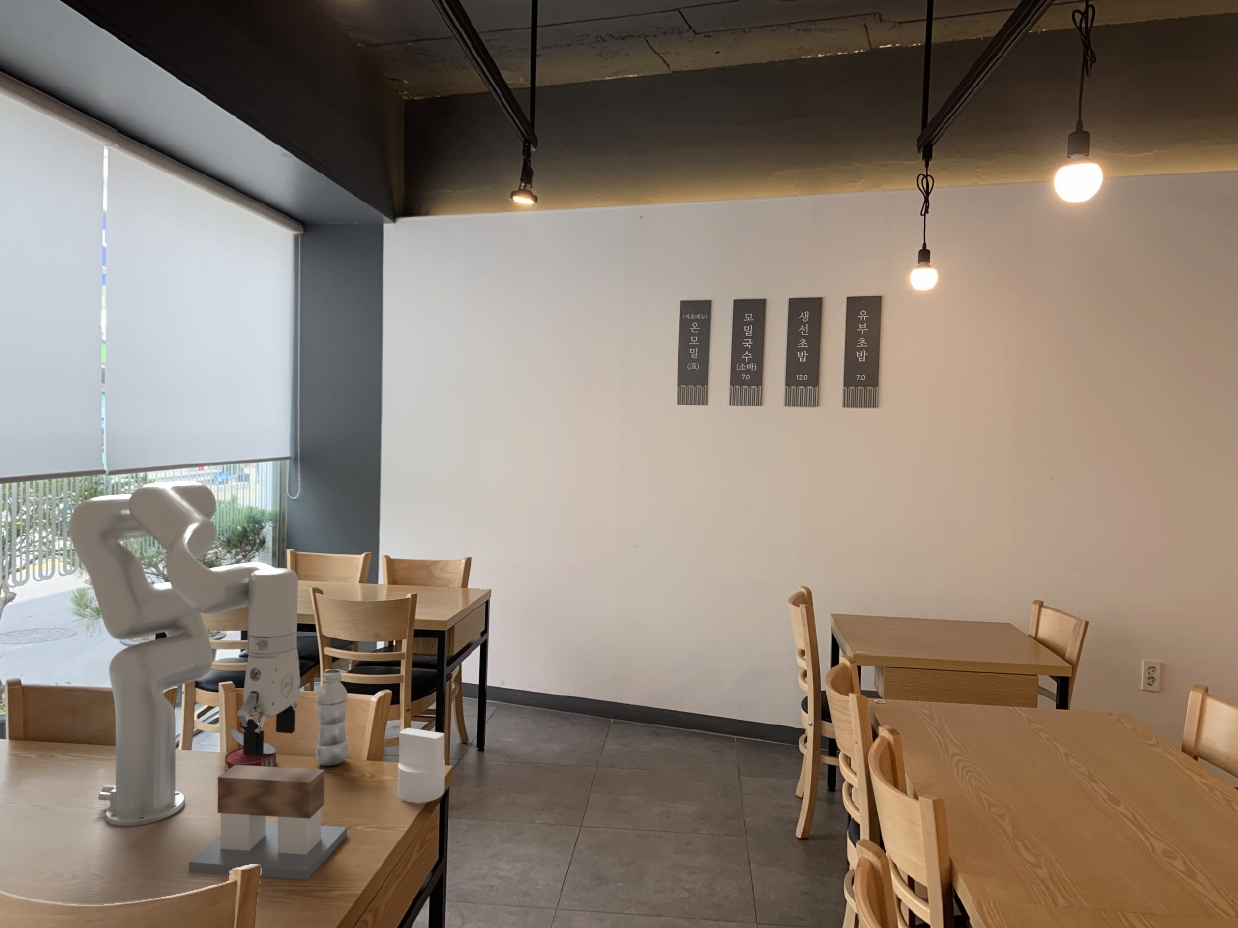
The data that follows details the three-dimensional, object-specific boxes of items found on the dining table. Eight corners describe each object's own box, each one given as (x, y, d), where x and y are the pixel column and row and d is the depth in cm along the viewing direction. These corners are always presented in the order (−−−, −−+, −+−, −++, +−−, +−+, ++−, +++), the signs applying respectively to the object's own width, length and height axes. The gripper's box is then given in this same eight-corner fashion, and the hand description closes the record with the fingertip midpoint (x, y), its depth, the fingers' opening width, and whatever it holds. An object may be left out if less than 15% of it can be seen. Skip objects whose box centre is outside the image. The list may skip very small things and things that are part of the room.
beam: (217, 812, 128) (217, 777, 127) (235, 799, 133) (235, 764, 132) (309, 818, 126) (310, 782, 126) (324, 804, 131) (324, 769, 131)
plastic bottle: (352, 757, 169) (353, 667, 169) (338, 770, 162) (339, 676, 162) (324, 756, 170) (325, 666, 169) (309, 768, 163) (310, 675, 163)
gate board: (188, 871, 124) (188, 825, 123) (239, 828, 137) (239, 786, 137) (307, 879, 122) (307, 833, 121) (346, 835, 136) (347, 793, 135)
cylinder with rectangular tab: (452, 786, 156) (453, 728, 155) (428, 806, 147) (428, 744, 147) (414, 779, 159) (415, 722, 158) (388, 798, 150) (388, 737, 150)
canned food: (240, 781, 167) (249, 733, 172) (282, 780, 166) (291, 731, 170) (206, 777, 157) (217, 726, 162) (251, 775, 156) (261, 724, 160)
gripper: (264, 658, 120) (262, 766, 120) (318, 631, 137) (316, 725, 138) (219, 655, 121) (217, 762, 121) (278, 628, 138) (276, 722, 138)
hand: (269, 743), depth 129 cm, fingers open, 9 cm apart
